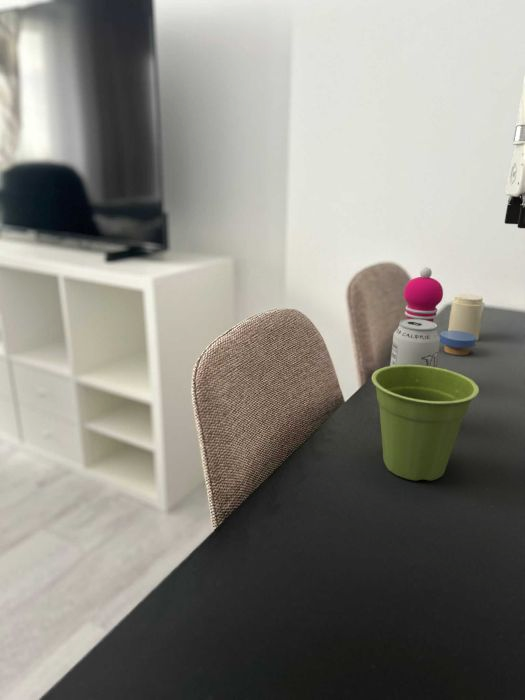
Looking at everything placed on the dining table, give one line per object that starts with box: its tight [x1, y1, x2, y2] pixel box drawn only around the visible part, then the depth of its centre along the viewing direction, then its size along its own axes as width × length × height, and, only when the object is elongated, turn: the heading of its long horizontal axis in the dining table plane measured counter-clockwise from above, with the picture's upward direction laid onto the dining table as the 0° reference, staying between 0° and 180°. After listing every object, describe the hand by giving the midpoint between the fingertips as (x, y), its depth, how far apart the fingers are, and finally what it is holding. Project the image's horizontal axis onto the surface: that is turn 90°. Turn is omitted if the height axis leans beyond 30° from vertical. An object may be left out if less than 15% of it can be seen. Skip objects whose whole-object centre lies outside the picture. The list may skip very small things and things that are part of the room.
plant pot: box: [371, 365, 480, 482], centre depth 61 cm, size 12×12×11 cm
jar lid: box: [439, 330, 477, 349], centre depth 104 cm, size 7×7×2 cm
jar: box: [447, 293, 485, 342], centre depth 112 cm, size 7×7×9 cm
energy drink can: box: [389, 318, 441, 368], centre depth 71 cm, size 6×6×15 cm
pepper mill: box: [403, 266, 444, 368], centre depth 84 cm, size 7×7×20 cm
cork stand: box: [443, 344, 471, 356], centre depth 104 cm, size 5×5×3 cm
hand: (518, 226), depth 106 cm, fingers open, 9 cm apart
